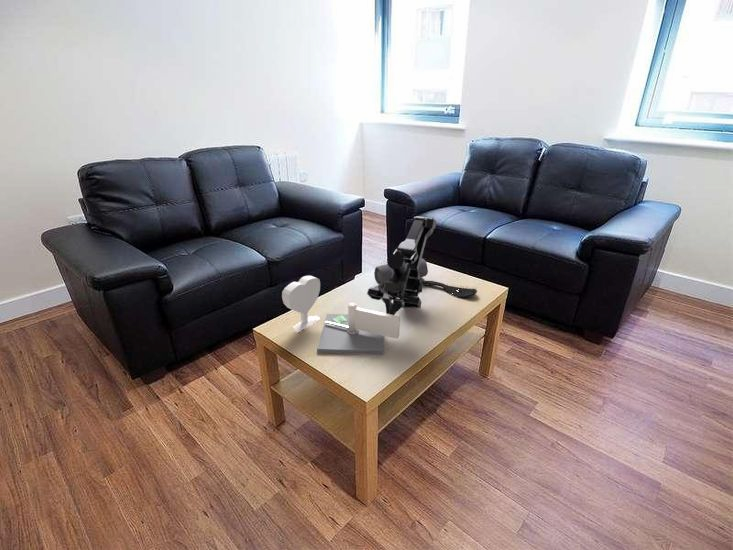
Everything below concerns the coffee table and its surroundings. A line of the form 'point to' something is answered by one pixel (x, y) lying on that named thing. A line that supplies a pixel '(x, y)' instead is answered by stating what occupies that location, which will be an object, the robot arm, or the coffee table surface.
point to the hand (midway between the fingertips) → (388, 320)
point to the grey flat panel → (347, 338)
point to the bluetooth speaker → (385, 273)
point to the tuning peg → (371, 321)
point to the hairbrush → (453, 289)
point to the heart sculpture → (302, 299)
